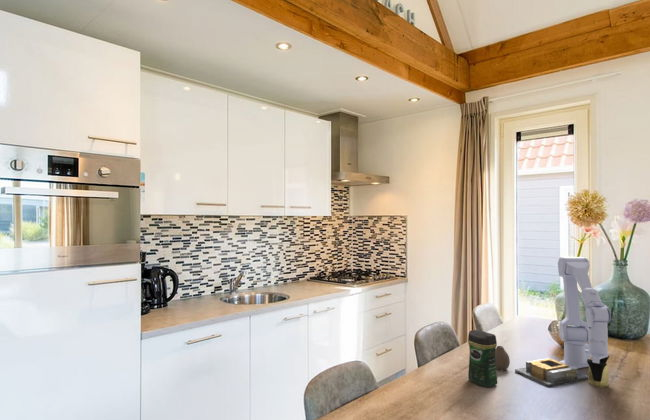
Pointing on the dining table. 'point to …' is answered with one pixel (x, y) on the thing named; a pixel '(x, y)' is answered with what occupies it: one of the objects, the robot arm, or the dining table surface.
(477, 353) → the coffee jar
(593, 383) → the rectangular block
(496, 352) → the vase
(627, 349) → the dining table surface
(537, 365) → the rosette base
